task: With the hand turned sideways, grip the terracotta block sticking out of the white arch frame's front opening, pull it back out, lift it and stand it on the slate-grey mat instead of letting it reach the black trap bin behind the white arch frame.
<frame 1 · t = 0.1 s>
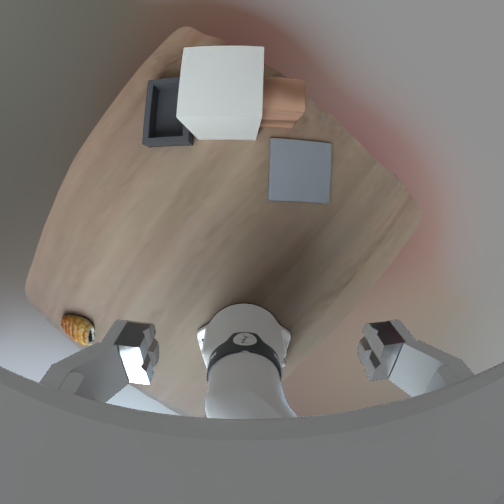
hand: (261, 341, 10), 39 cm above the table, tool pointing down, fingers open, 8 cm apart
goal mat: (300, 170, 46), on the table
trap bin: (172, 114, 43), on the table
white arch frame: (228, 112, 43), on the table
pastry: (82, 327, 53), on the table
block: (262, 114, 43), on the table
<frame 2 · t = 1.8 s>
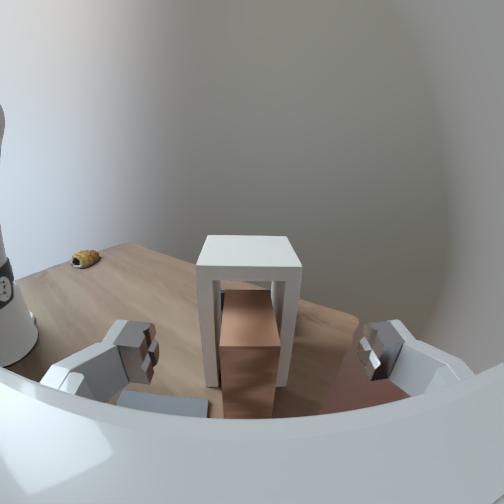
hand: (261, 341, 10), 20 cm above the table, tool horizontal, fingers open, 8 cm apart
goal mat: (155, 432, 23), on the table
white arch frame: (245, 361, 36), on the table
pastry: (85, 264, 66), on the table
block: (246, 393, 30), on the table
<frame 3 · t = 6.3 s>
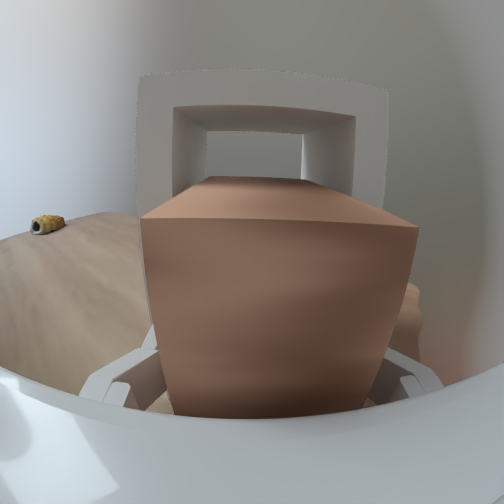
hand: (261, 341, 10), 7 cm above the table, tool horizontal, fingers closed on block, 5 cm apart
white arch frame: (251, 351, 19), on the table
pastry: (47, 231, 49), on the table
block: (254, 417, 13), on the table, touching gripper
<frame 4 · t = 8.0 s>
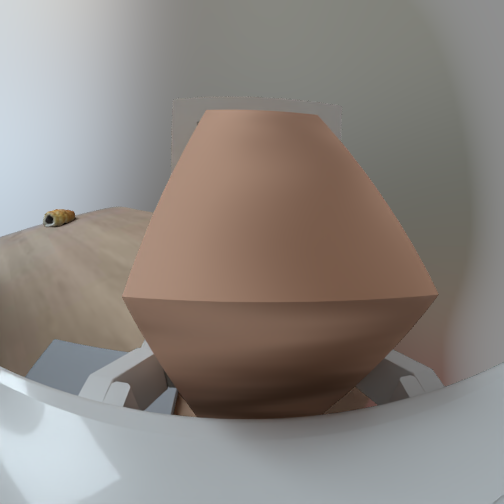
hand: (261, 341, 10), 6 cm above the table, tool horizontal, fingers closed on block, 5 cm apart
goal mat: (83, 410, 11), on the table
white arch frame: (249, 308, 24), on the table
pastry: (59, 224, 54), on the table
block: (253, 350, 16), point 2 cm above the table, tilted 24°, touching gripper
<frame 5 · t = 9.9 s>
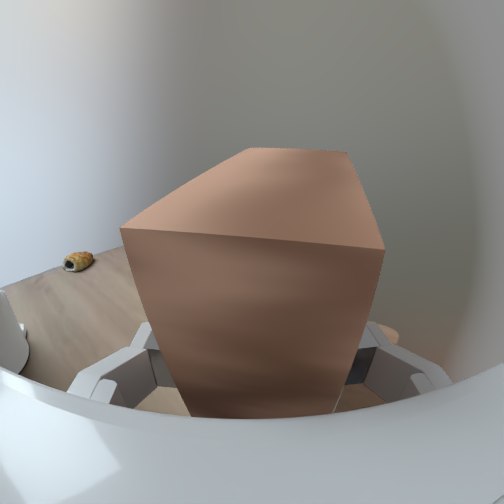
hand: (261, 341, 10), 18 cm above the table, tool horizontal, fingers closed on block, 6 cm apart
pastry: (78, 267, 59), on the table
block: (276, 383, 15), point 12 cm above the table, tilted 11°, touching gripper, white arch frame
when the fingers open (18 cm above the table, at t = 10.1 s): block drops 12 cm, resting on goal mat.
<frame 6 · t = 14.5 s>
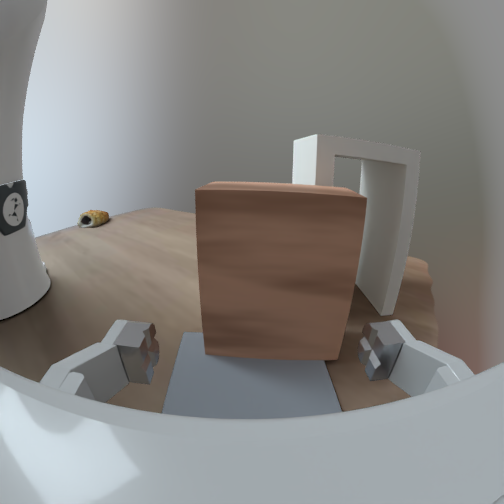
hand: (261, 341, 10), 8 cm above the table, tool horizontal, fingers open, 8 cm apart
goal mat: (250, 385, 17), on the table
white arch frame: (336, 294, 30), on the table
pastry: (94, 225, 60), on the table
block: (272, 339, 21), resting on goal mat
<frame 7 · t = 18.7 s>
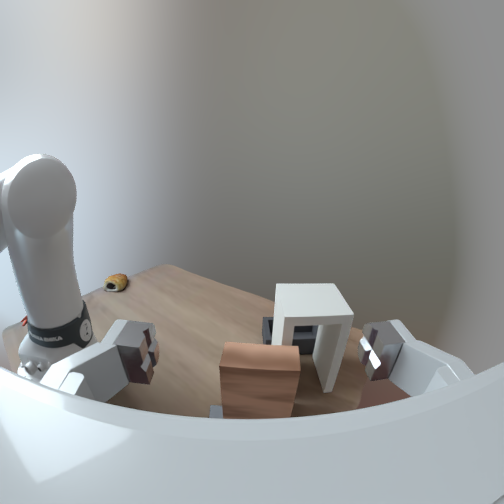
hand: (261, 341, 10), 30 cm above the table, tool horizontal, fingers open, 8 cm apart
trap bin: (291, 342, 55), on the table
white arch frame: (299, 375, 46), on the table
pastry: (116, 287, 76), on the table
block: (257, 409, 37), resting on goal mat
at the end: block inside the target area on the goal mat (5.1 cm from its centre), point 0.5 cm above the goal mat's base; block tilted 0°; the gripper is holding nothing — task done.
